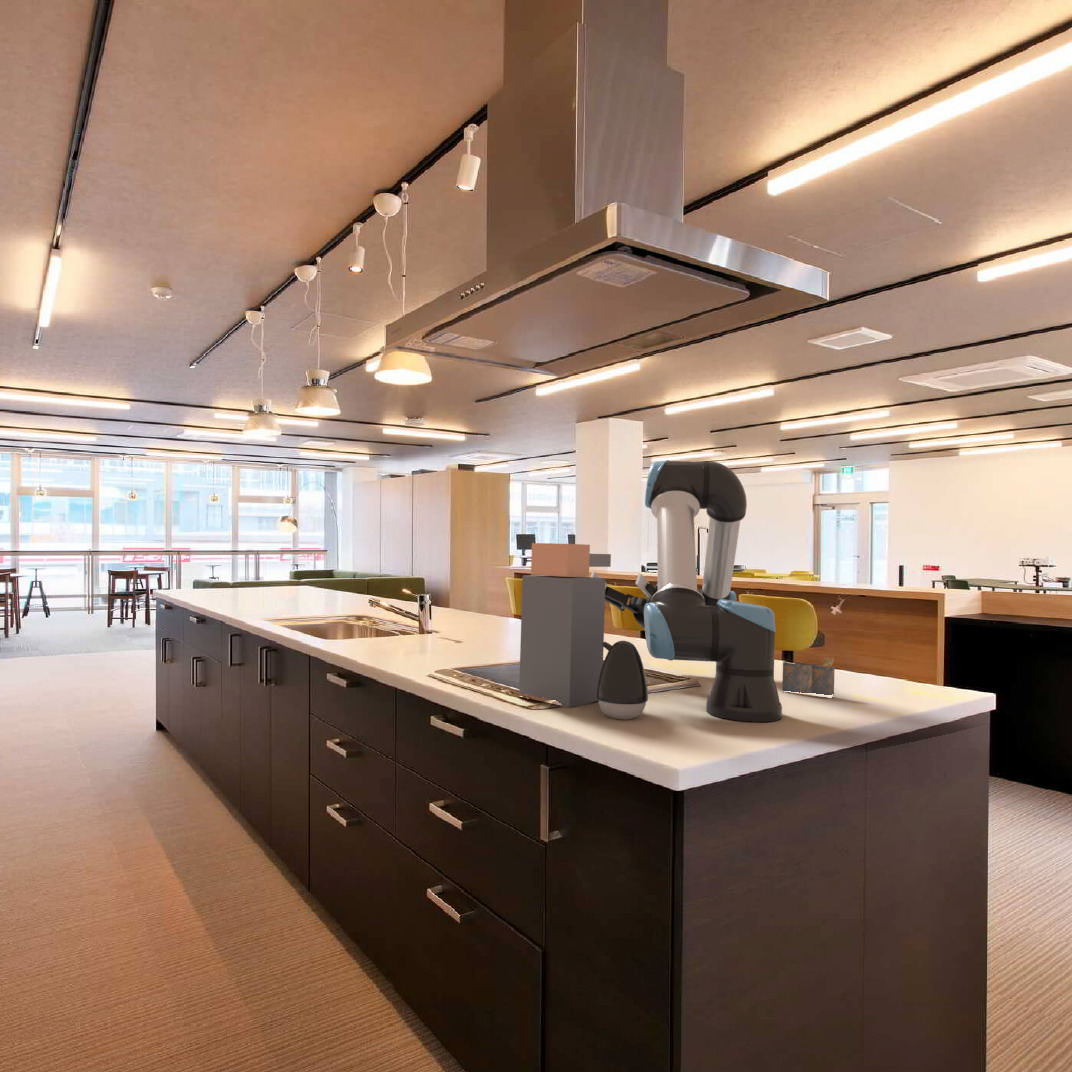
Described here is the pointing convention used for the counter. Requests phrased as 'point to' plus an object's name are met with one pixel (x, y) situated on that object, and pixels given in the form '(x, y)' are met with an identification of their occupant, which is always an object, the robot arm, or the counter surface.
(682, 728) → the counter surface
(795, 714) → the counter surface
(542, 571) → the orange and grey block
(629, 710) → the pump dispenser
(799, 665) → the ruin model on sheet
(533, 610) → the grey tall block
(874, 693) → the counter surface
